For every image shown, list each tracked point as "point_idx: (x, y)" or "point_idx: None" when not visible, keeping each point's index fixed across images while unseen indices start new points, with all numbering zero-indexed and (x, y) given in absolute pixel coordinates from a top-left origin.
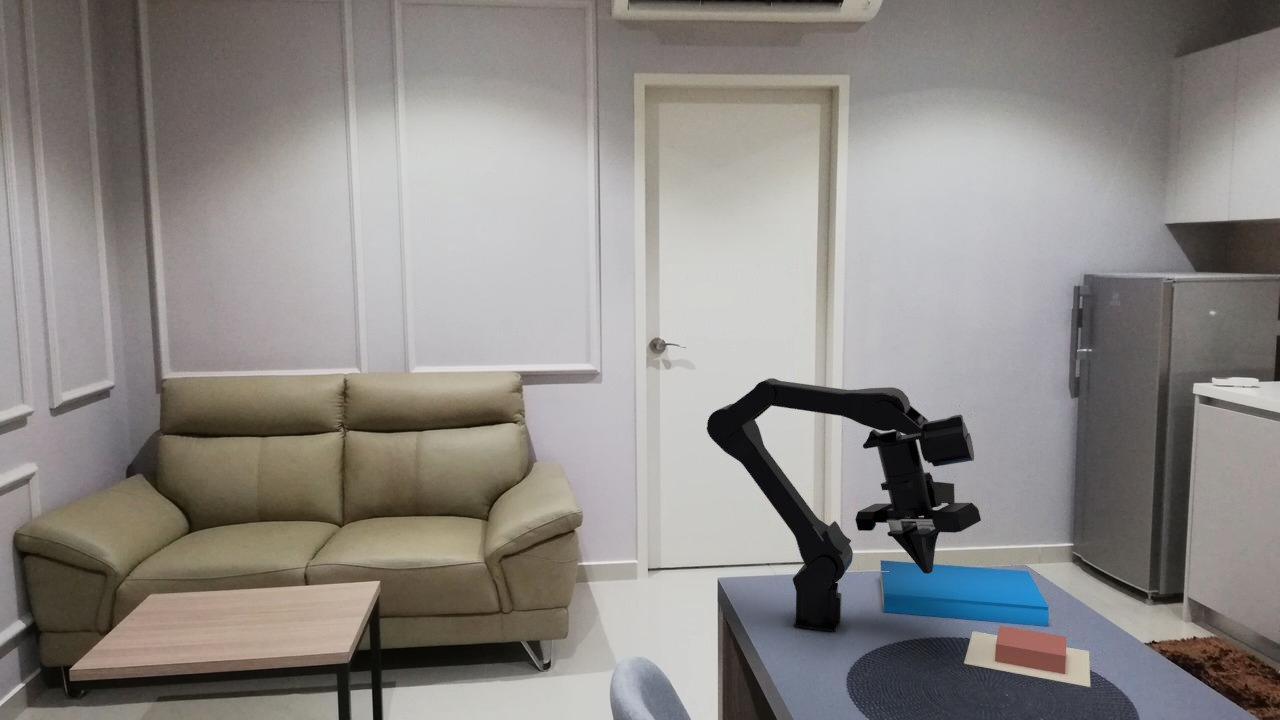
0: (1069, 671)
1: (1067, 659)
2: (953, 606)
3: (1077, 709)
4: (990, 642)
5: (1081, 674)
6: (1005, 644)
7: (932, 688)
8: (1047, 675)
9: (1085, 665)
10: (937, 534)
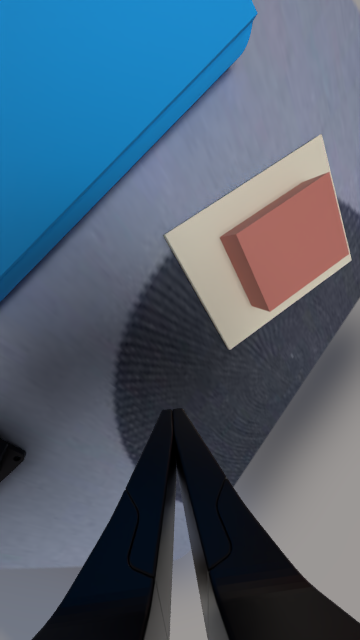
0: None
1: None
2: (90, 198)
3: (348, 314)
4: (212, 251)
5: None
6: (280, 300)
7: (236, 420)
8: None
9: None
10: (313, 597)
